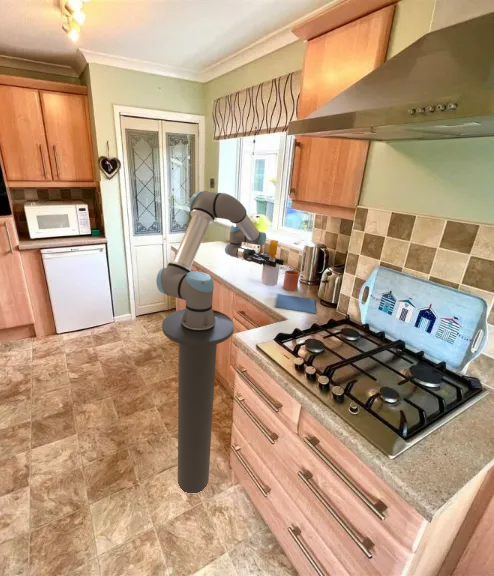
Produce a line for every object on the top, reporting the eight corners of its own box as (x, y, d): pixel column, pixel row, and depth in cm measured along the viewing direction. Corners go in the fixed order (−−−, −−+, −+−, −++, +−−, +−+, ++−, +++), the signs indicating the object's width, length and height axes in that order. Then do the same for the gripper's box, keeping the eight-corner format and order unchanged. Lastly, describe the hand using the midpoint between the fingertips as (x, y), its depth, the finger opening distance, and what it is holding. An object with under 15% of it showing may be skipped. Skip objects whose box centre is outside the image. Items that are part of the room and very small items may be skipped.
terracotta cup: (282, 289, 179) (284, 273, 176) (283, 285, 187) (285, 269, 183) (296, 291, 178) (299, 275, 174) (297, 286, 185) (299, 271, 182)
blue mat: (275, 307, 155) (275, 306, 155) (278, 294, 172) (278, 294, 172) (315, 313, 151) (315, 313, 151) (314, 300, 168) (314, 299, 167)
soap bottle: (277, 281, 177) (283, 240, 168) (276, 287, 169) (282, 243, 160) (262, 279, 179) (266, 238, 170) (260, 285, 170) (265, 241, 162)
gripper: (256, 257, 188) (288, 267, 174) (235, 263, 175) (268, 273, 161) (257, 246, 186) (290, 254, 171) (236, 250, 172) (269, 259, 158)
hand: (279, 263), depth 166 cm, fingers closed on soap bottle, 6 cm apart
